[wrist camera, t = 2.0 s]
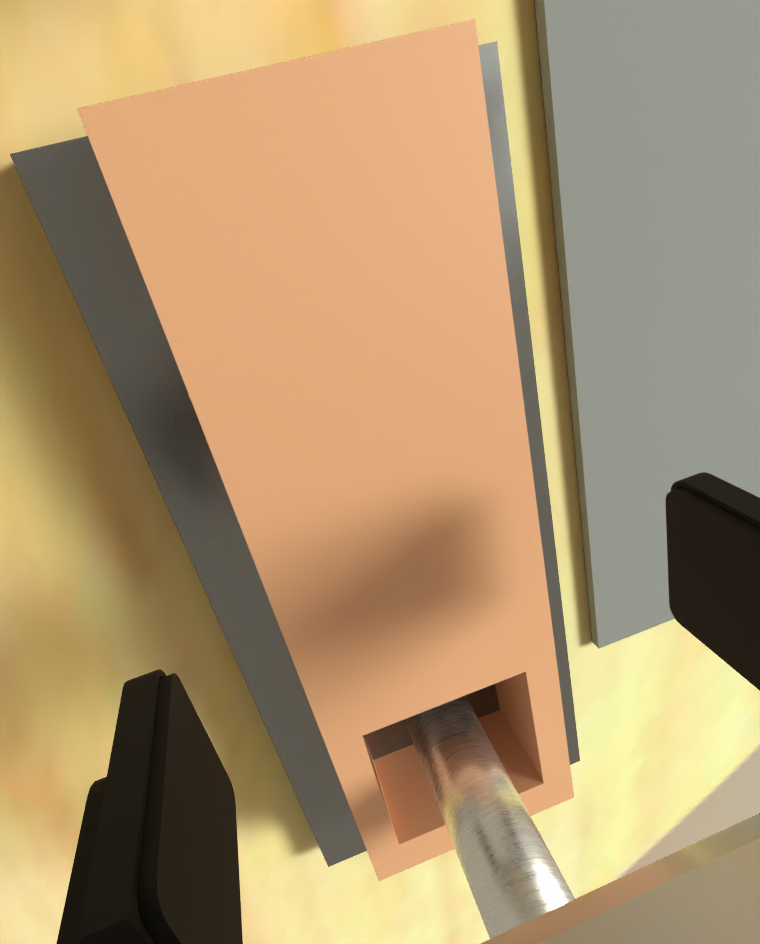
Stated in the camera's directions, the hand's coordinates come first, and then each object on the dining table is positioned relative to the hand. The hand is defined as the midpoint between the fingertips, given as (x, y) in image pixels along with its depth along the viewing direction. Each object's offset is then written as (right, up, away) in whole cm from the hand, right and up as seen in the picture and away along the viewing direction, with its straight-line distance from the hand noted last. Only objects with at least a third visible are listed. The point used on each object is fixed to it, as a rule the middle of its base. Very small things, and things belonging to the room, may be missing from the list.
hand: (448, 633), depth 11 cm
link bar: (-1, +2, +6) cm, 6 cm away
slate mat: (+9, +8, +7) cm, 14 cm away
